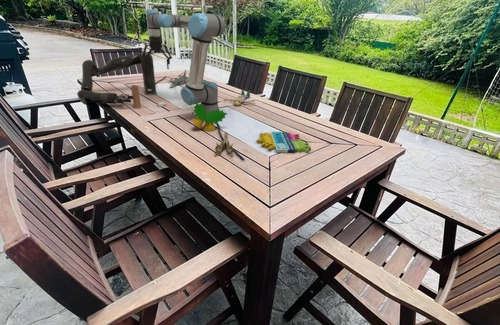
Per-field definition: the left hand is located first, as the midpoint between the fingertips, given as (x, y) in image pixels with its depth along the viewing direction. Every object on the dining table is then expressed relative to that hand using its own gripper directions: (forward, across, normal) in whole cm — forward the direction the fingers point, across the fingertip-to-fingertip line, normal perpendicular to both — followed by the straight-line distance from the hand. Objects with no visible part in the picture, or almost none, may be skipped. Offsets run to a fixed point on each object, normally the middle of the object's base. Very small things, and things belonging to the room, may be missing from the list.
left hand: (132, 99), depth 188 cm
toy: (+80, +25, +6) cm, 84 cm away
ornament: (+57, -37, +6) cm, 68 cm away
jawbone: (+66, -68, +6) cm, 96 cm away
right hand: (+19, +6, -21) cm, 29 cm away
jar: (+3, 0, +6) cm, 7 cm away
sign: (+100, -56, +6) cm, 115 cm away
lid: (+18, +6, +5) cm, 20 cm away
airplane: (+22, +80, +6) cm, 83 cm away
